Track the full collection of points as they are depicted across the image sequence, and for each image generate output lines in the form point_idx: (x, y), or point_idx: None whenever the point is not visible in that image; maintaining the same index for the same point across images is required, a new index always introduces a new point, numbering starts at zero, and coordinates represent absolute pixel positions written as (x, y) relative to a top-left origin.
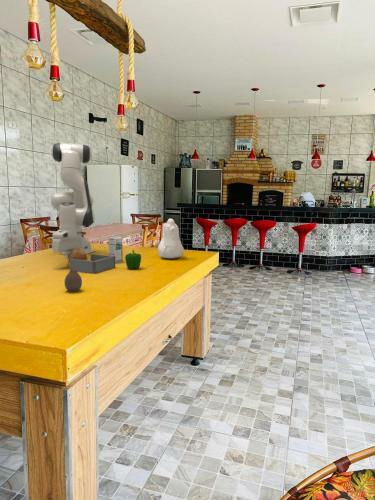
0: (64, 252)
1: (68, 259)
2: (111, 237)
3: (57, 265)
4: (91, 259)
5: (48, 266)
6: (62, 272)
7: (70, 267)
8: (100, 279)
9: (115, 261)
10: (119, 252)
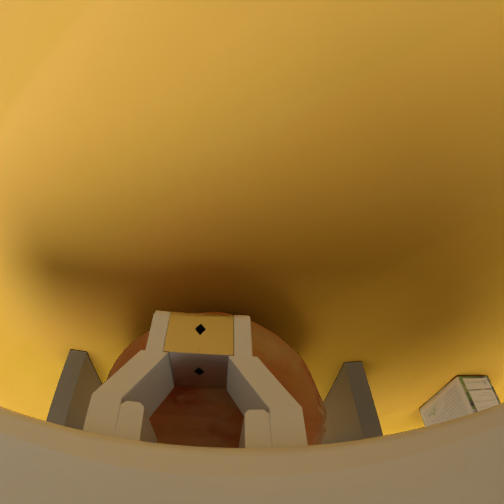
0: (95, 405)
1: (109, 374)
2: None
3: (174, 87)
4: (352, 409)
5: (60, 41)
6: (10, 334)
7: (65, 375)
8: None
9: (422, 417)
10: None
